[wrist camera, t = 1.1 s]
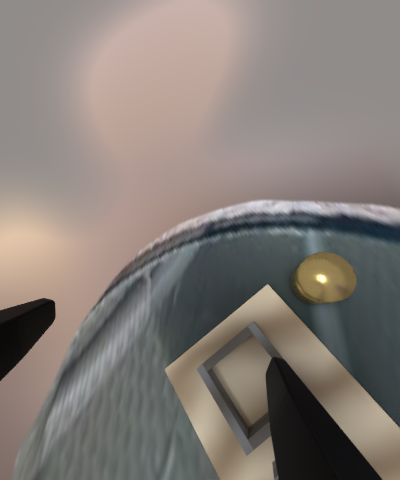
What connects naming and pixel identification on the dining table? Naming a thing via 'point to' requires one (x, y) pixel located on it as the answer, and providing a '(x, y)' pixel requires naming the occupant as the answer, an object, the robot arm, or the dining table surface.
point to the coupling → (323, 279)
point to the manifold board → (255, 394)
